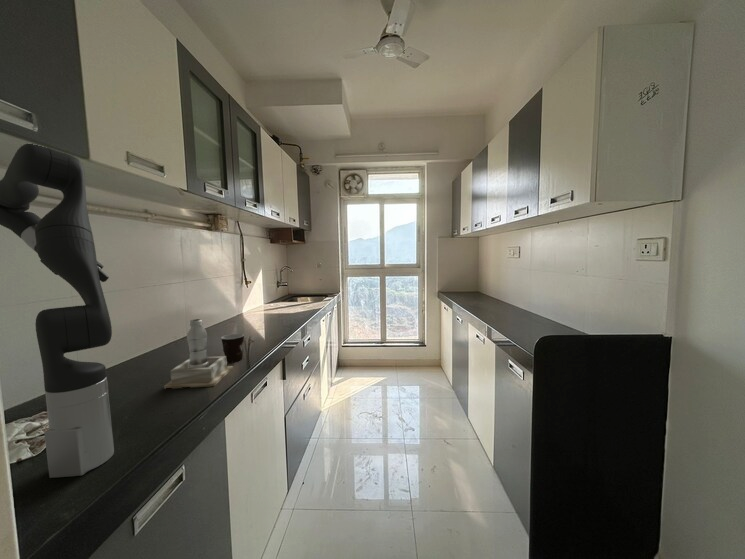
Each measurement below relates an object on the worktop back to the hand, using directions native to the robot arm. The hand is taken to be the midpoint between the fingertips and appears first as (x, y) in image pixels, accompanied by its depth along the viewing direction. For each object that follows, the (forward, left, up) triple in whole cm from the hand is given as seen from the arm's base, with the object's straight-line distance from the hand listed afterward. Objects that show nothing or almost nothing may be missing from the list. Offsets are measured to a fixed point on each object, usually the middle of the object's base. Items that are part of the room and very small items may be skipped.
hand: (94, 281), depth 90 cm
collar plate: (+14, -21, -37) cm, 45 cm away
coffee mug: (+31, -25, -37) cm, 54 cm away
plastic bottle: (+14, -21, -36) cm, 44 cm away
